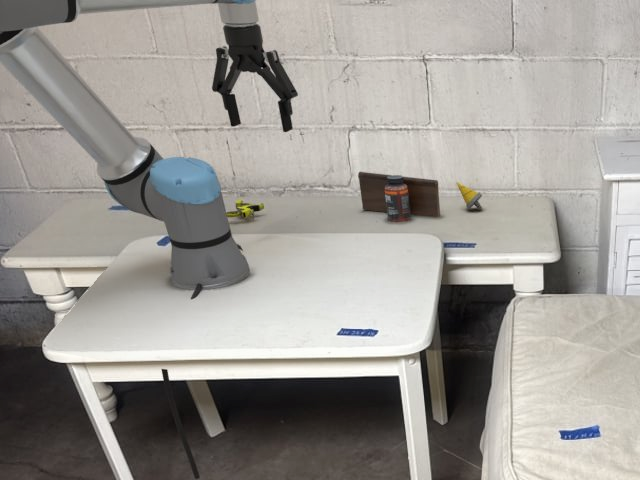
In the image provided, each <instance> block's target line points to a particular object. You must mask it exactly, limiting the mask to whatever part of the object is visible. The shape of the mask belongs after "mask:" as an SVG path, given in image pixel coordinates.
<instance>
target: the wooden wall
mask: <svg viewBox="0 0 640 480" xmlns="http://www.w3.org/2000/svg"><path fill="white" fill-rule="evenodd" d="M388 176H392V174H384V173H376V172H366V171H359V172H358V174H357V177H358V181H359V182H358V183H359V189H360V190H359V191H360V197H361V204H362V205H361V206H362V210H363V211H364V210H366V211H371V212H372V211H374V212H381V213H382V212H383V213H387V206H386V197H385V186H386V185H387V184H388V182H387V181H388V180H387V177H388ZM403 183H404V184H405V185H407V187H408V196H409V206H410V216H418V217H432V218H439V217H440V216H441V209H440V208H441V206H440V194H439V181H438V180H437V179H429V178H419V177H411V176H403Z"/></svg>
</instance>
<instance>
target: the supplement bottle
mask: <svg viewBox="0 0 640 480" xmlns="http://www.w3.org/2000/svg"><path fill="white" fill-rule="evenodd" d="M391 175H392V174H391ZM403 177H404V175H400V174H393V175H392V176H388V177H387V180H388V181H387V182H388V184H387V185H386V186H385V197H386V206H387V212H386V214H387V215H386V216H387V221H389V222H391V223H404V222H409V221H410V220H411V215H410V206H409V196H408V187H407V185H405V184H404V183H403Z"/></svg>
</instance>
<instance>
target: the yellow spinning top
mask: <svg viewBox="0 0 640 480" xmlns="http://www.w3.org/2000/svg"><path fill="white" fill-rule="evenodd" d="M456 185H457V187H458V190H459V191H460V194H461V196H462V198H463V200H464V203H465V207H466V209H468V210H470V209H471V208H472V207H473V206H475V207H476V208H477V209H480V210H483V206H482V205H481V203H480V201H479V200H481V198H482V196H483V194H482V193H481V192H480V191H479V192H477V191H475V190H473V189H472V188H469V187H467V186H466V185H464V184H462V183H459V182H456Z"/></svg>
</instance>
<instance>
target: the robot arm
mask: <svg viewBox="0 0 640 480" xmlns="http://www.w3.org/2000/svg"><path fill="white" fill-rule="evenodd" d="M256 1H257V0H0V64H1V65H2V66H3V67H4V69H6V71H7V72H9V74H10V75H11V76H12V77H13V78H14V79H15V80H16V81H17V82H18V83H19V84H20V85H21V86H22V87H23V88H24V89H25V90H26V91H27V92H28V93H29V94H30V95H31V96H32V97H33V98H34V100H35V101H37V103H39V104H40V105H41V107H42V108H43V109H44V110H45V111H46V112H47V113H48V114H49V115H50V116H51V117H52V118H53V119H54V120H55V121H56V123H58V124H59V125H60V126H61V127H62V128H63V129H64V130H65V132H67V133H68V134H69V136H71V137H72V139H73V140H74V141H75V142H76V143H77V144H78V145H79V146H80V147H81V148H82V149H83V150H84V151H85V152H86V153H87V154H88V155H89V157H91V158H92V160H94V161H95V162H96V173H97V175H98V177H99V178H100V179H101V180H102V181H103V183H104V186H105V190H107V193H108V194H109V196H110V197H111V198H112V199H113V200H114V201H115V202H116V203H117V204H119V205H120V206H122V207H123V208H124V209H126V210H128V211H131V212H133V213H137V214H140V215H144V216H145V217H149V218H152V219H155V220H158V221H160V222H163V223H164V227H165V229H166V232H167V235H168V239H169V241H170V246H171V252H170V253H171V254H170V257H171V258H170V266H171V267H170V279H171V282H172V284H173V285H174V286H175V287H176V288H180V289H184V290H191V291H192V290H193V293H192V295H191V297H190V300H194V299H196V298H197V297H198V296H199V294H200V292H201V291H204V290H214V289H221V288H226V287H229V286H233V285H237V284H239V283H241V282H243V281H245V280H246V279H247V278H248V277H249V276H250V273H251V269H250V264H249V261H248V260H247V258H246V256H245V255H244V254H243V253H242V252H244V249H243V247H242V245H240V244H238V243H237V242H236V241H235V239H234V237H233V234H232V230H231V226H230V222H229V217H227V213H226V212H227V210H226V206H225V201H224V198H223V194H222V186H221V183H220V180H219V177H218V175H217V172H216V170H215V168H214V167H213V166H212V165H211V164H210V163H208V162H207V161H205V160H202V159H200V158H195V157H184V156H172V157H167V158H163V156H162V155H161V154H160V153H159V152H158V151H157V149H156V148H155V147H154V146H153V145H152V144H151V142H150V141H149V140H148V139H146V138H144V137H142V136H141V137H140V136H134V135H133V134H132V133H131V131H129V129H128V128H127V126H125V125H124V124H123V122H121V119H119V118H118V117H117V116H116V115H115V113H114V112H113V111H112V110H111V109H110V107H108V105H107V104H106V103H105V102H104V101H103V100H102V99H101V97H100V96H99V95H98V94H97V93H96V92H95V91H94V90H93V89H92V88H91V86H90V85H89V84H88V82H86V81H85V80H84V78H83V77H82V76H81V75H80V74H79V73H78V71H76V69H75V68H74V67H73V65H72V64H71V63H70V62H69V61H68V60H67V59H66V58H65V57H64V55H63V54H62V53H61V52H60V51H59V49H57V48H56V47H55V46H54V44H53V43H52V42H51V41H50V39H48V38H47V36H46V35H45V34H44V33H43V32H42V31H41V29H40V28H39V27H44V26H49V25H57V24H66V23H67V24H68V23H73V22H75V21H76V20H77V18H78V16H79V15H87V14H100V13H110V12H113V13H114V12H123V11H125V12H126V11H135V10H137V11H138V10H145V9H147V10H149V9H160V8H173V7H183V6H186V7H187V6H197V5H211V4H212V5H214V4H215V5H216V4H217V7H218V12H219V17H220V21H221V23H222V24H224V25H223V27H222V30H223V34H224V40H225V43H226V45H227V46H228V47H227V46H226V45H223V46H220V47H217V48H216V49H215V53H216V54H215V55H216V63H215V68H214V72H213V73H214V74H213V80H212V86H211V90H212V92H213V93H217V94H220V96H221V99H222V102H223V103H222V104H223V107H224V110H225V111H227V114H228V119H229V123H230V127H234V128H235V127H236V126H239V125H242V121H241V117H240V111H239V108H238V104H237V99H236V94H235V93H233V88H234V87H235V85H236V84H237V81H238V79H239V78H240V75H241V73H247V72H249V73H251V74H252V73H253V74H255V73H256V74H257V75H258V76H259V77H261V78H262V79H263V80H264V82H266V84H267V85H268V86H269V87H270V89H271V90H272V91H273V93H274V94H275V95H276V96H277V97H278V98H279V100H278V101H277V106H278V111H279V115H280V116H279V117H280V121H281V127H282V132H283V133H288V132H290V131H292V130H294V128H293V121H292V117H291V116H293V113H294V111H293V106H292V99H294V98H296V97H298V96H299V93H298V91H297V89H296V88H295V86H294V84H293V82H292V80H291V79H290V77H289V76H288V74H287V73H288V72H287V71H286V70H285V68H284V66H283V64H282V62H281V60H280V57H279V53H278V51H277V50H276V49H273V50H269V51H266V50H264V46H263V44H264V39H263V34H262V28H261V25H259V24H258V22H259V21H260V18H259V14H258V13H259V12H258V7H257V2H256ZM229 58H230V59H231V60H232V63H231V65H230V66H229V61H230V59H229ZM267 63H268V64H267ZM228 66H229V71H228ZM227 71H228V73H227ZM161 374H162V379H163V384H164V388H165V393H166V396H167V400H168V404H169V407H170V410H171V414H172V417H173V420H174V423H175V426H176V430H177V432H178V435H179V438H180V440H181V443H182V446H183V449H184V451H185V454H186V457H187V459H188V463H189V466H190V468H191V471H192V475H193V477H194V479H195V480H198V479H200V478H201V476H200V473H199V470H198V467H197V464H196V462H195V458H194V455H193V453H192V449H191V447H190V444H189V441H188V439H187V436H186V433H185V429H184V427H183V424H182V421H181V418H180V415H179V412H178V408H177V404H176V400H175V397H174V394H173V389H172V385H171V382H170V377H169V369H167V368H161Z"/></svg>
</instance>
